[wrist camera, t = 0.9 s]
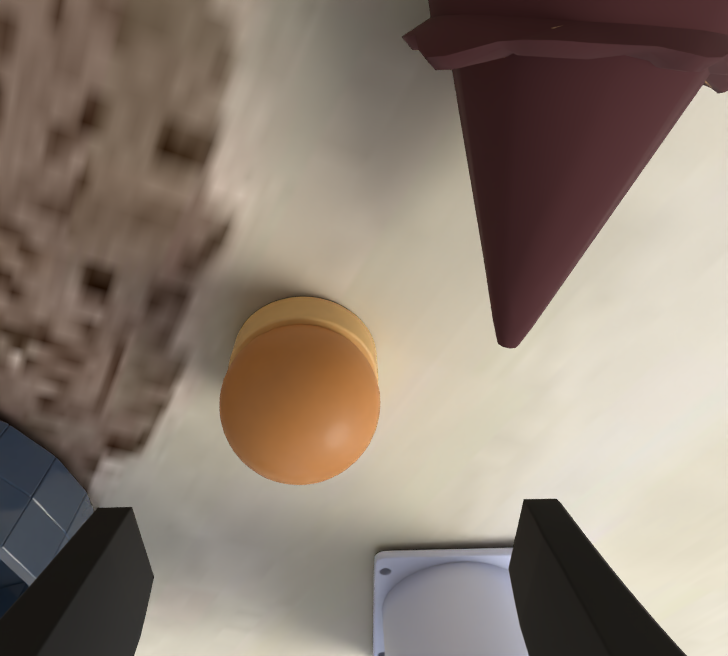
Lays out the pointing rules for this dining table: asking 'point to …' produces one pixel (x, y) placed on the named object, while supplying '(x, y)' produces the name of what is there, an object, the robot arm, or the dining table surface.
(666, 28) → the icecream
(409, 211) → the dining table surface
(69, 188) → the dining table surface
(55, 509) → the bowl
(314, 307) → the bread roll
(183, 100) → the dining table surface
